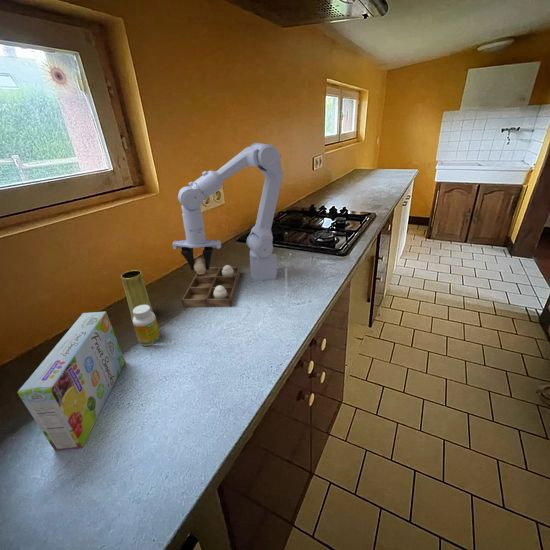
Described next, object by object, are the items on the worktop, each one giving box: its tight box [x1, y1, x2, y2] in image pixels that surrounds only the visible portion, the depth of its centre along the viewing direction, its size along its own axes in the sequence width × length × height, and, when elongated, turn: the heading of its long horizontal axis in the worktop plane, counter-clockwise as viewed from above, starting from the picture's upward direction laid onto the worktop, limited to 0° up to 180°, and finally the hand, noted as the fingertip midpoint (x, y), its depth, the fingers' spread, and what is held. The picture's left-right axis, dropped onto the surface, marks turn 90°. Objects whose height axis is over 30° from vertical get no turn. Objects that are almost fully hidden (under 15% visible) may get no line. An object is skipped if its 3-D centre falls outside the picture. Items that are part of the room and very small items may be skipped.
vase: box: [120, 269, 154, 322], centre depth 85 cm, size 6×6×14 cm
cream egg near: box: [213, 285, 227, 299], centre depth 93 cm, size 4×4×5 cm
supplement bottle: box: [132, 305, 161, 347], centre depth 77 cm, size 5×5×10 cm
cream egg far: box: [222, 264, 234, 276], centre depth 105 cm, size 4×4×5 cm
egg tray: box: [181, 266, 242, 308], centre depth 100 cm, size 15×22×3 cm
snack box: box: [17, 310, 126, 451], centre depth 59 cm, size 21×6×15 cm, turn 5°
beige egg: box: [193, 257, 206, 274], centre depth 96 cm, size 4×4×5 cm
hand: (200, 268), depth 97 cm, fingers closed on beige egg, 4 cm apart
